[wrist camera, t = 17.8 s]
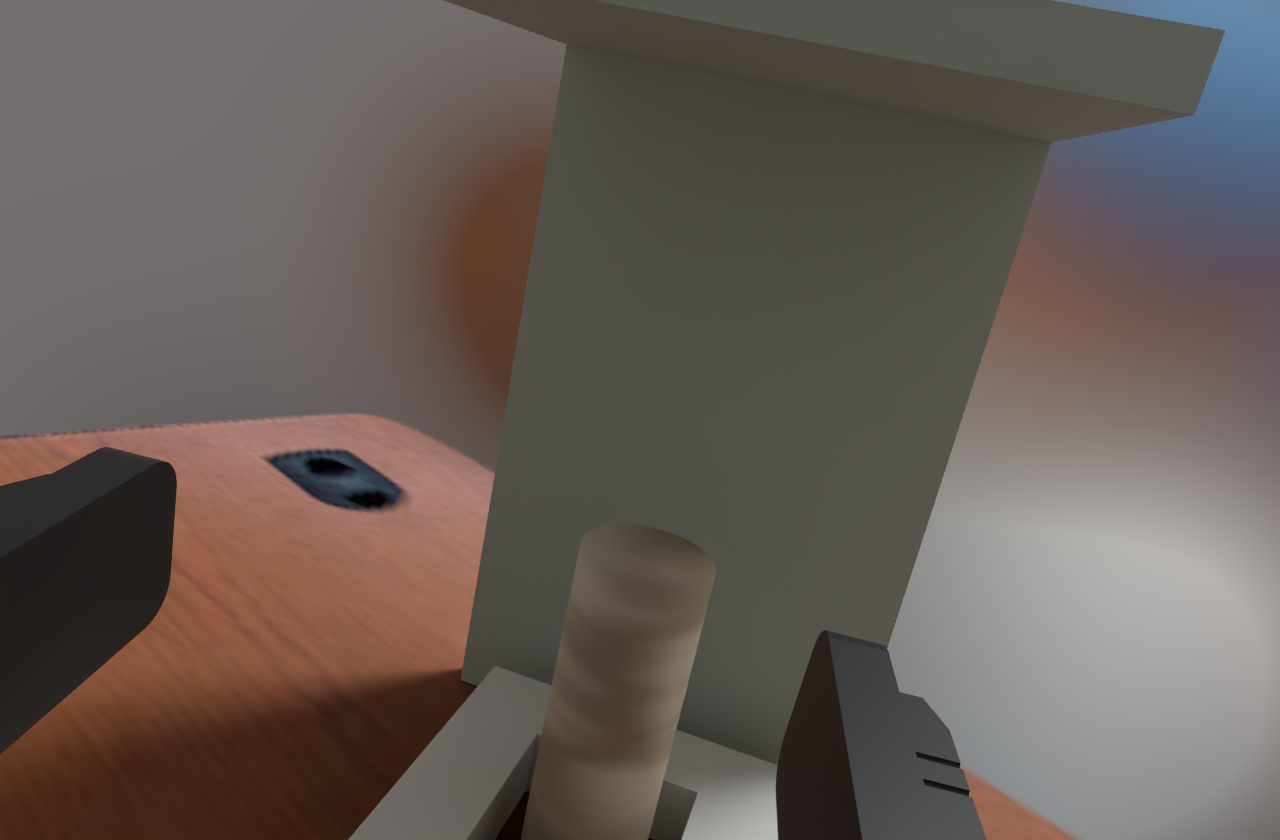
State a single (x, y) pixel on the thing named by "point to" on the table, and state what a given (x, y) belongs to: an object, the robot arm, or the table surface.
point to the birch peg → (618, 684)
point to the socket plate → (504, 767)
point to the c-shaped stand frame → (777, 300)
